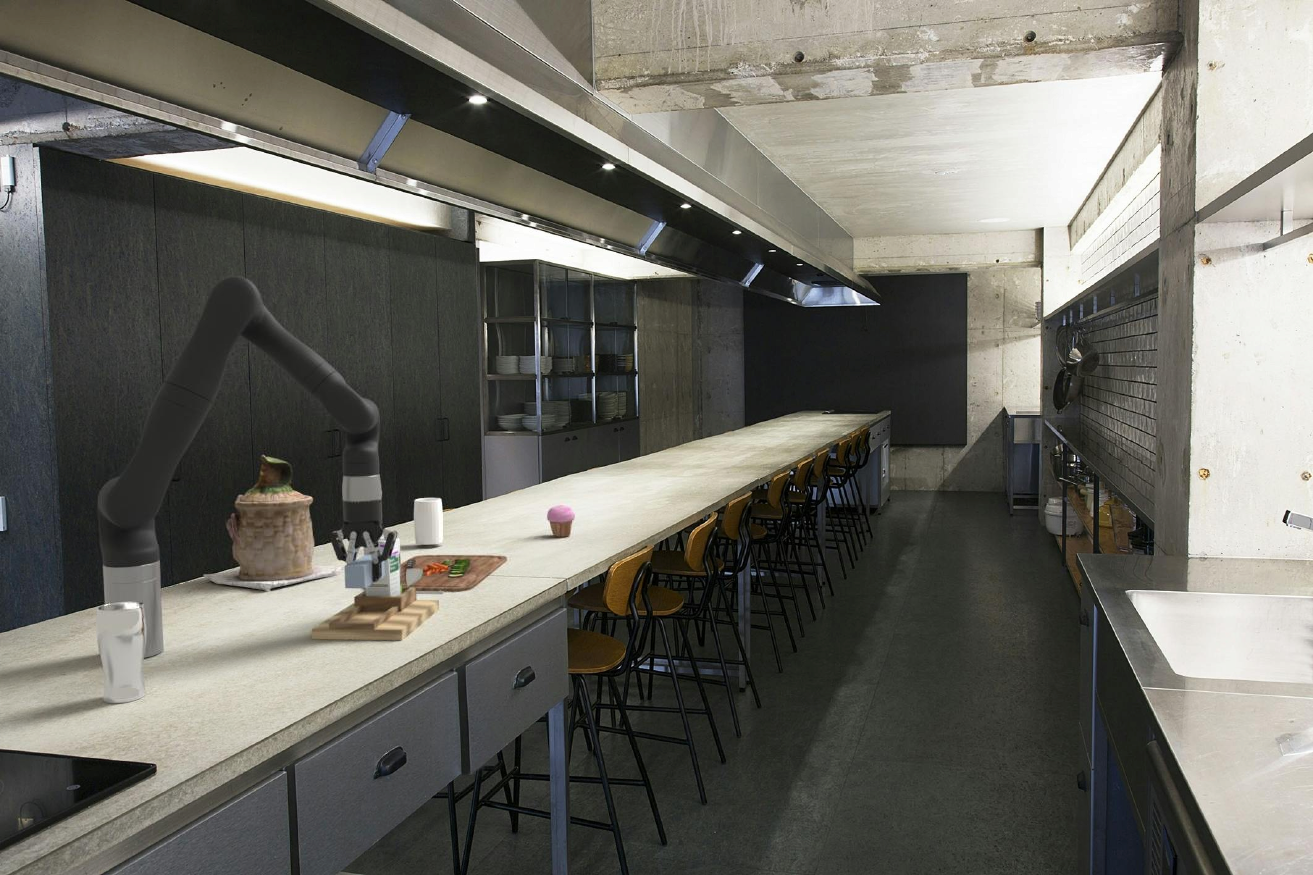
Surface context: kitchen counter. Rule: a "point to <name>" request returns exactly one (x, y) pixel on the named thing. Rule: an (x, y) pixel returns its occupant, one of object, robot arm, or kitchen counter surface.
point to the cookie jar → (272, 534)
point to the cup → (428, 521)
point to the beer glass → (122, 649)
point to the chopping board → (447, 572)
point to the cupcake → (561, 520)
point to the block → (360, 573)
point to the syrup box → (388, 573)
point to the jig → (378, 617)
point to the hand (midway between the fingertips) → (365, 580)
